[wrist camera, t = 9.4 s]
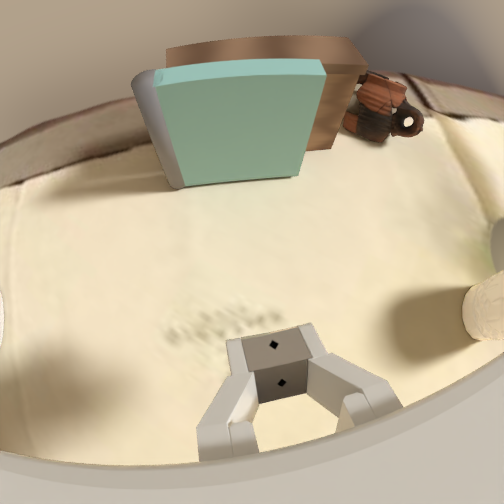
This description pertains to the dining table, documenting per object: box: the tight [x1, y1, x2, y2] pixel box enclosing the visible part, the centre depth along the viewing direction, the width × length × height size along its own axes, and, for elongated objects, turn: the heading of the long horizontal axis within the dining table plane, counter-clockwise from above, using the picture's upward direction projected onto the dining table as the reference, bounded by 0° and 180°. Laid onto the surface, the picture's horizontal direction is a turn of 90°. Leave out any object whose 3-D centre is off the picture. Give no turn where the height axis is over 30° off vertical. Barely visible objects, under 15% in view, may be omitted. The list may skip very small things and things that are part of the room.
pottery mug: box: [343, 70, 424, 142], centre depth 33 cm, size 12×10×8 cm
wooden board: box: [166, 36, 368, 151], centre depth 27 cm, size 17×5×13 cm, turn 101°
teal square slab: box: [131, 59, 327, 189], centre depth 25 cm, size 14×2×14 cm, turn 97°
